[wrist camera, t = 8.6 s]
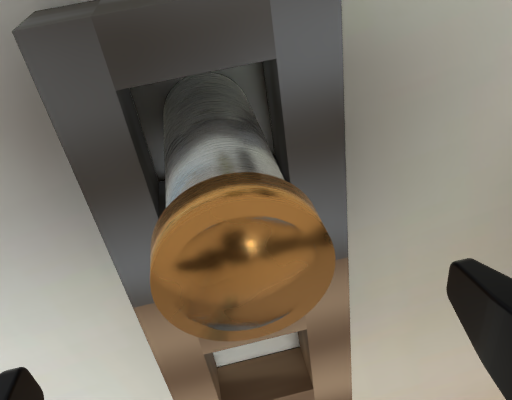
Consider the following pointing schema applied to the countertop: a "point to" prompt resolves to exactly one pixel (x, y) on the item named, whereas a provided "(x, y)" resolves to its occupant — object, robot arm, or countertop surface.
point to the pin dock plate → (153, 192)
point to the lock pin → (231, 222)
